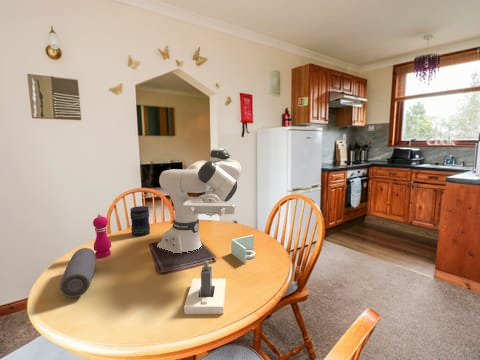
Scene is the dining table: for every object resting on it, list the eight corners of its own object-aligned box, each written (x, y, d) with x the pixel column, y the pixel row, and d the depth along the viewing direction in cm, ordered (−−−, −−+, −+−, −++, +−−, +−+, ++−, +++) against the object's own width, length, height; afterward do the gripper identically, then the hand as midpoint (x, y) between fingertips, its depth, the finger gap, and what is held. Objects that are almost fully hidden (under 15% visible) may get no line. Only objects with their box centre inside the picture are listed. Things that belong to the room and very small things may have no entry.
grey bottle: (203, 293, 88) (202, 258, 86) (212, 293, 88) (211, 258, 86) (201, 301, 84) (200, 264, 82) (210, 301, 84) (210, 264, 82)
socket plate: (193, 284, 94) (192, 277, 94) (225, 284, 94) (225, 277, 94) (184, 314, 78) (184, 304, 78) (223, 313, 78) (223, 304, 78)
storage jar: (146, 237, 141) (144, 210, 138) (128, 236, 141) (126, 210, 138) (152, 230, 150) (151, 206, 148) (136, 230, 151) (134, 206, 148)
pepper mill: (98, 252, 122) (95, 211, 118) (114, 251, 122) (111, 211, 119) (91, 259, 114) (87, 216, 111) (108, 258, 115) (104, 215, 112)
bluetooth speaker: (72, 271, 103) (69, 248, 102) (98, 267, 107) (96, 244, 106) (59, 304, 83) (56, 275, 81) (92, 297, 87) (89, 270, 85)
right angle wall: (244, 265, 110) (244, 248, 109) (231, 254, 121) (231, 239, 120) (266, 258, 116) (267, 243, 115) (252, 249, 127) (252, 234, 126)
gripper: (235, 211, 107) (235, 222, 93) (186, 211, 106) (179, 221, 92) (235, 197, 106) (235, 205, 92) (186, 196, 105) (179, 204, 92)
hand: (207, 213), depth 92 cm, fingers open, 8 cm apart
